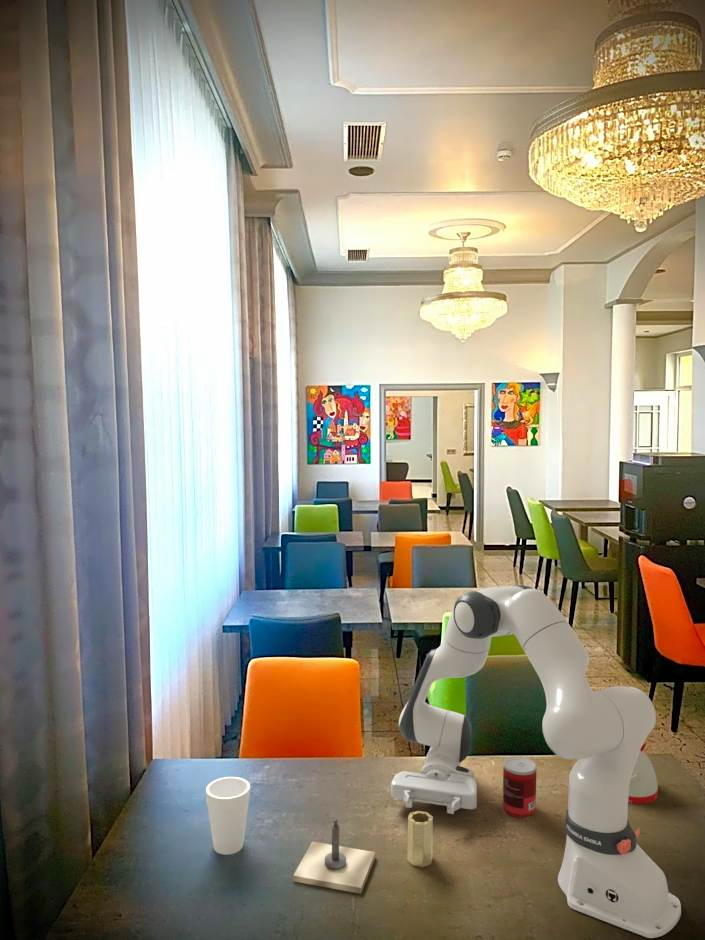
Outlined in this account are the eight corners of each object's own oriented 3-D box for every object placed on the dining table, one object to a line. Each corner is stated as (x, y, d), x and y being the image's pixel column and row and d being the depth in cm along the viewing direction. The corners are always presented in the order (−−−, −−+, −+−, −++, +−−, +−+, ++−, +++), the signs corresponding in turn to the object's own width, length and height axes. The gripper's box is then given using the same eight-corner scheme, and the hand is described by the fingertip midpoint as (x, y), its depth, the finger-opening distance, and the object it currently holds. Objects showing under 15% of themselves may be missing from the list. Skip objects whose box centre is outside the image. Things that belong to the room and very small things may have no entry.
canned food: (532, 801, 171) (533, 757, 171) (538, 819, 163) (539, 773, 163) (500, 799, 172) (501, 755, 171) (504, 817, 164) (505, 771, 163)
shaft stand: (375, 857, 148) (375, 809, 148) (361, 893, 137) (361, 842, 136) (312, 846, 152) (312, 800, 151) (293, 881, 140) (293, 830, 140)
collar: (433, 854, 150) (434, 813, 149) (429, 868, 145) (430, 826, 144) (410, 850, 151) (410, 809, 150) (405, 864, 146) (406, 822, 146)
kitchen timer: (602, 771, 187) (603, 715, 186) (658, 782, 181) (660, 725, 180) (595, 795, 174) (597, 736, 173) (655, 809, 168) (657, 747, 167)
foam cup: (197, 850, 150) (196, 791, 150) (224, 829, 159) (224, 773, 158) (233, 863, 146) (232, 803, 145) (259, 841, 154) (258, 783, 153)
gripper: (396, 760, 175) (384, 787, 161) (479, 771, 169) (474, 800, 156) (396, 785, 175) (384, 814, 162) (479, 796, 170) (474, 827, 156)
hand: (429, 807), depth 159 cm, fingers open, 8 cm apart
